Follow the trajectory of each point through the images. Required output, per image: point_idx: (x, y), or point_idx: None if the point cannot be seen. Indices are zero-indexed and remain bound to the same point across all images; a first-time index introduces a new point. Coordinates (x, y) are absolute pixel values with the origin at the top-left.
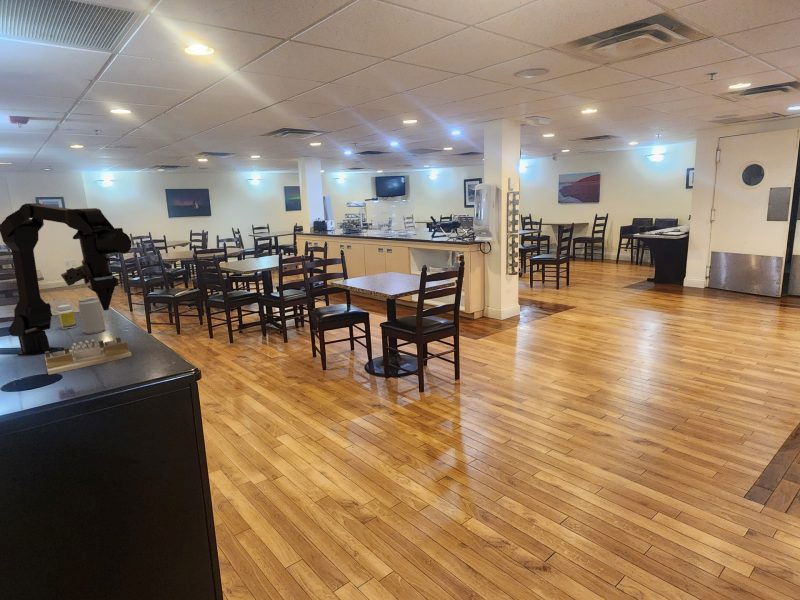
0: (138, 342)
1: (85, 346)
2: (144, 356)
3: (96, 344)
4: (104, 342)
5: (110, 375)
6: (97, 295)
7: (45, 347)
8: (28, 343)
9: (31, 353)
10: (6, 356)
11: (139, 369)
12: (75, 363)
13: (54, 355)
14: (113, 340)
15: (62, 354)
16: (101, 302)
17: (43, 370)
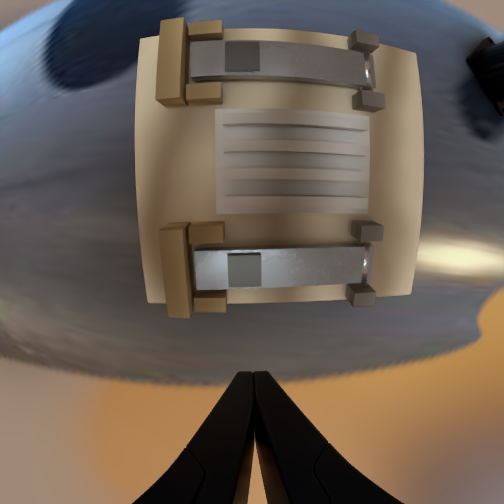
0: (347, 341)
1: (312, 162)
2: (120, 324)
3: (224, 204)
4: (366, 244)
5: (7, 215)
6: (289, 491)
7: (490, 87)
8: (499, 48)
9: (473, 52)
10: (493, 27)
11: (13, 282)
12: (159, 114)
13: (296, 48)
14: (363, 278)
15: (250, 68)
16: (205, 427)
17: (228, 25)
